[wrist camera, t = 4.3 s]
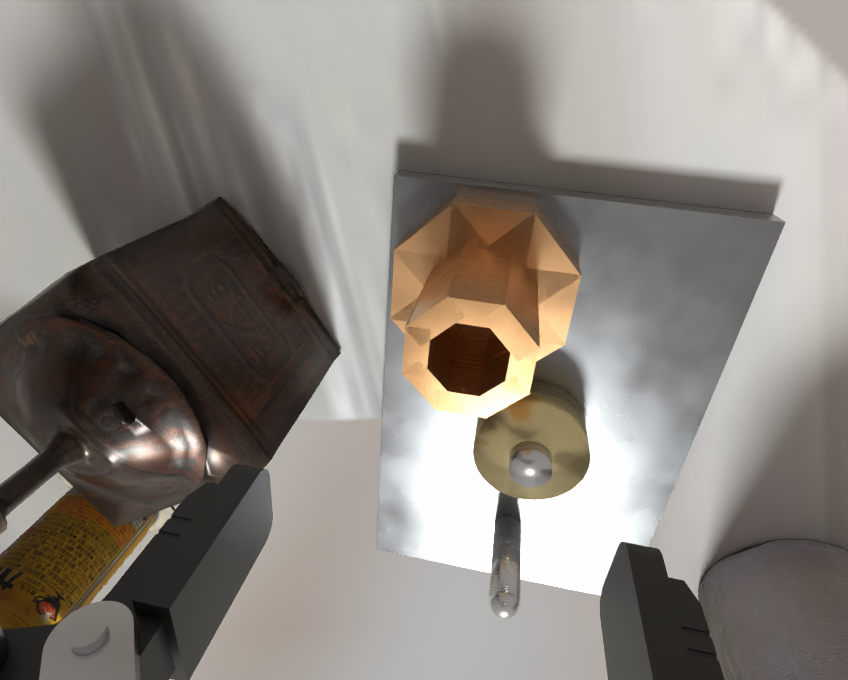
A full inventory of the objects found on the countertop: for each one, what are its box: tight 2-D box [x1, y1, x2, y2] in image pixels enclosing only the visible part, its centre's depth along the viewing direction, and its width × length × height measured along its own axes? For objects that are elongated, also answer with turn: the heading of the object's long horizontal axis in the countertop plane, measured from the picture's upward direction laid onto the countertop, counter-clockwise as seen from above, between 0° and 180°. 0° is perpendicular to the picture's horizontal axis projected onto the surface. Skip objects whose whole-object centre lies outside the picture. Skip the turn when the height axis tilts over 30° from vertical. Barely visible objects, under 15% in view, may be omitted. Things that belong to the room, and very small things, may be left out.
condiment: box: [0, 472, 174, 629], centre depth 33 cm, size 7×8×12 cm
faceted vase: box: [390, 195, 582, 418], centre depth 21 cm, size 8×8×7 cm
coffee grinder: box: [0, 197, 340, 534], centre depth 21 cm, size 16×11×18 cm
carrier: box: [376, 171, 785, 619], centre depth 25 cm, size 24×16×7 cm, turn 176°
